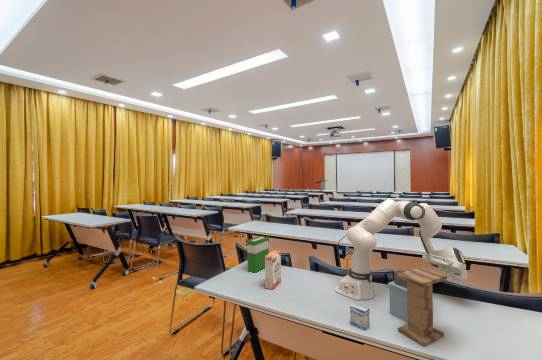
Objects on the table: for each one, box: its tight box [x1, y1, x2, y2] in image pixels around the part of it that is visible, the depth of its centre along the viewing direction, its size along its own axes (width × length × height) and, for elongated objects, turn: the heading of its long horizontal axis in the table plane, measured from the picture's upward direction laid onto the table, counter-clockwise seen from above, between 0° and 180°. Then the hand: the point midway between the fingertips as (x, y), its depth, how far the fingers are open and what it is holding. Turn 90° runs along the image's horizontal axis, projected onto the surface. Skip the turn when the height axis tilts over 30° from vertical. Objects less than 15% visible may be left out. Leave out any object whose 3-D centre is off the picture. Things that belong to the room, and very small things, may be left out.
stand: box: [397, 267, 448, 348], centre depth 113 cm, size 17×12×26 cm
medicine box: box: [349, 302, 371, 331], centre depth 120 cm, size 8×4×9 cm, turn 44°
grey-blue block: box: [387, 280, 408, 324], centre depth 129 cm, size 17×11×16 cm, turn 117°
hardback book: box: [246, 235, 270, 274], centre depth 197 cm, size 18×7×24 cm, turn 147°
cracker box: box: [264, 250, 282, 290], centre depth 168 cm, size 14×6×21 cm, turn 156°
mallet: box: [393, 269, 407, 288], centre depth 131 cm, size 23×8×6 cm, turn 118°
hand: (435, 256), depth 139 cm, fingers open, 8 cm apart
